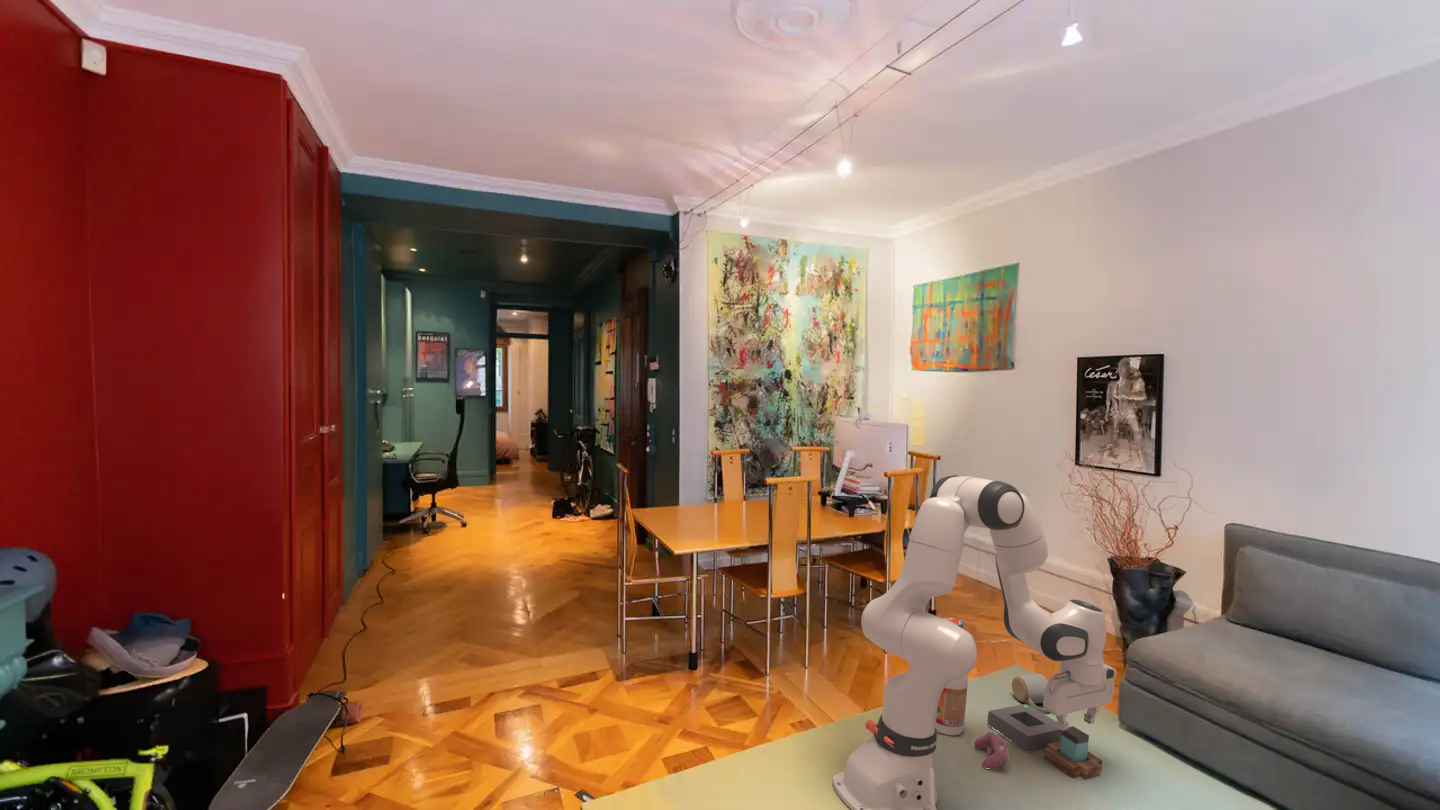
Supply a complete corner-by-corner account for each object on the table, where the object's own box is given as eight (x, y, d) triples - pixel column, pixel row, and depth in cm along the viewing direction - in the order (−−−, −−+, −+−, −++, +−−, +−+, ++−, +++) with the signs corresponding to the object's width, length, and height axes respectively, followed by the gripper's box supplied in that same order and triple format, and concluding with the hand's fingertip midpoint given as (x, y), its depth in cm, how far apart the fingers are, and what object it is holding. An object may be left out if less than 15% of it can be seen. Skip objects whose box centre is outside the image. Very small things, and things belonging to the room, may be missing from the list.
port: (1026, 752, 146) (1027, 735, 146) (987, 725, 157) (988, 709, 157) (1065, 743, 151) (1067, 726, 151) (1025, 718, 163) (1026, 702, 162)
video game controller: (998, 779, 137) (1015, 755, 136) (980, 767, 138) (997, 743, 137) (988, 754, 147) (1004, 732, 146) (971, 743, 147) (987, 720, 147)
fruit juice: (961, 741, 149) (971, 631, 148) (922, 728, 153) (931, 621, 153) (965, 723, 157) (974, 619, 156) (928, 712, 162) (937, 611, 161)
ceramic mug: (1008, 694, 175) (1010, 669, 175) (1032, 694, 177) (1035, 669, 177) (1033, 715, 165) (1036, 688, 165) (1059, 714, 166) (1061, 687, 166)
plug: (1074, 771, 140) (1077, 738, 140) (1058, 761, 143) (1061, 728, 143) (1085, 768, 141) (1089, 735, 141) (1070, 758, 145) (1073, 726, 145)
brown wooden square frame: (1077, 781, 136) (1078, 771, 136) (1039, 755, 145) (1040, 745, 145) (1106, 773, 140) (1107, 763, 140) (1067, 749, 149) (1068, 739, 149)
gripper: (1063, 681, 135) (1058, 740, 136) (1121, 669, 143) (1116, 725, 144) (1038, 668, 141) (1034, 725, 141) (1095, 658, 149) (1091, 711, 149)
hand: (1076, 725), depth 143 cm, fingers open, 8 cm apart
